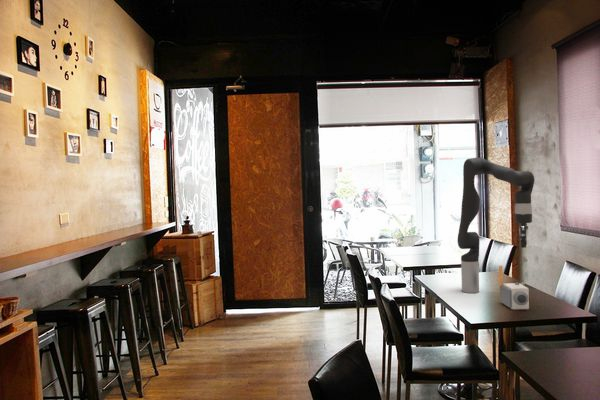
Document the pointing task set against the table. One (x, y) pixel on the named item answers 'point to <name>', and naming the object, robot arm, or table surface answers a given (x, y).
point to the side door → (504, 291)
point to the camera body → (518, 295)
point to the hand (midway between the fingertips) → (523, 246)
